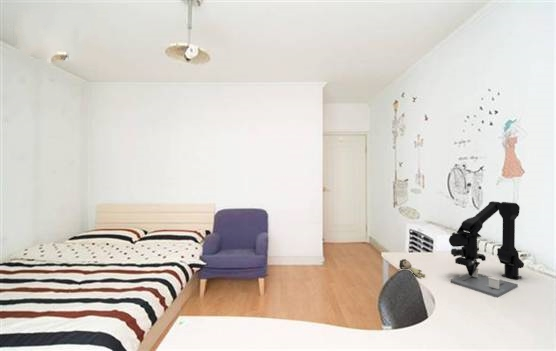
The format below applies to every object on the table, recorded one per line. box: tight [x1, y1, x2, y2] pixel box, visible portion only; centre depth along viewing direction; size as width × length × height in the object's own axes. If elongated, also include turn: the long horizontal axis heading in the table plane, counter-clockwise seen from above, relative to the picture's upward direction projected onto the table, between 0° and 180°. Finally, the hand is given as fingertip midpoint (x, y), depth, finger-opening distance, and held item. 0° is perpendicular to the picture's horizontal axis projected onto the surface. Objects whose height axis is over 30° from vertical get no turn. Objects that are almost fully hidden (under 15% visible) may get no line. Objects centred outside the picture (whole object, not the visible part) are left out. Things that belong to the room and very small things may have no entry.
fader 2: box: [488, 276, 501, 289], centre depth 130 cm, size 2×4×4 cm, turn 30°
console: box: [449, 272, 519, 298], centre depth 137 cm, size 22×20×2 cm
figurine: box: [398, 258, 426, 279], centre depth 153 cm, size 8×6×15 cm
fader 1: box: [472, 267, 479, 277], centre depth 144 cm, size 2×4×4 cm, turn 30°
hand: (470, 275), depth 142 cm, fingers closed
